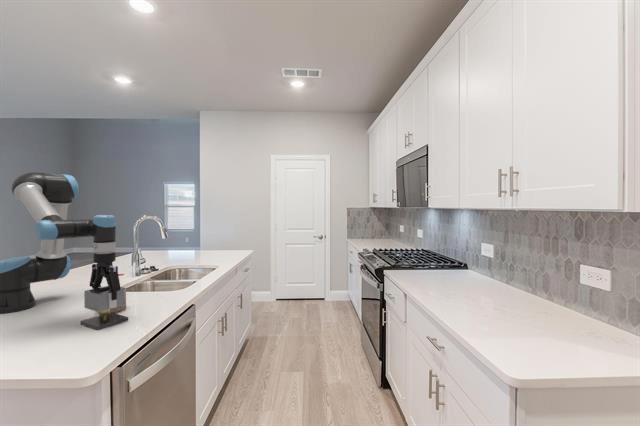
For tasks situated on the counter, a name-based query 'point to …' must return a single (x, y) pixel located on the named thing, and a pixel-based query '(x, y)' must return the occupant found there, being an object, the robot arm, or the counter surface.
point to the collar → (101, 298)
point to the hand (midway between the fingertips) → (104, 305)
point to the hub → (104, 320)
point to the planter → (119, 308)
